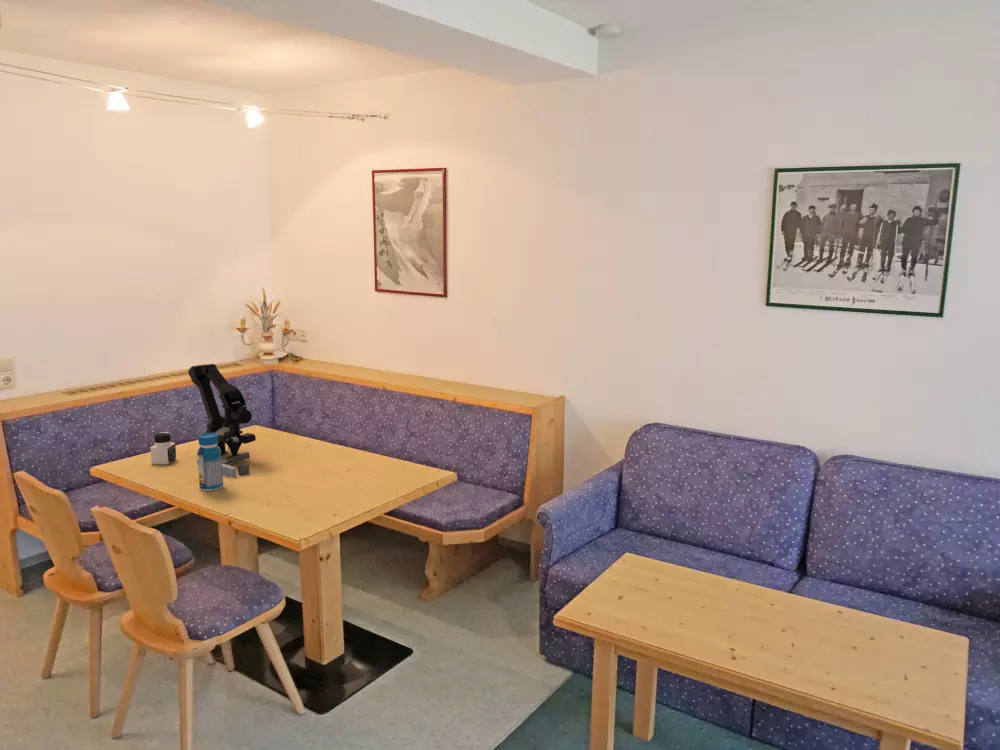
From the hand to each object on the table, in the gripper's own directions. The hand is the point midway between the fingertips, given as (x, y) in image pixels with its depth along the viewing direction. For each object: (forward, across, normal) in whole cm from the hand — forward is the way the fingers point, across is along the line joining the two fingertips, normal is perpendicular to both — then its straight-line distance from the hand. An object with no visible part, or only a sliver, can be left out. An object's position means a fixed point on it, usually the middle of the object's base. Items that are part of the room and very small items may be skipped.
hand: (234, 456), depth 315 cm
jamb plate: (+2, +3, -10) cm, 10 cm away
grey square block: (+2, +16, -12) cm, 20 cm away
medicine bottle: (+2, -24, -14) cm, 28 cm away
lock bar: (+1, +4, -5) cm, 6 cm away
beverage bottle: (+2, +17, -30) cm, 34 cm away
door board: (+2, +6, -15) cm, 16 cm away
